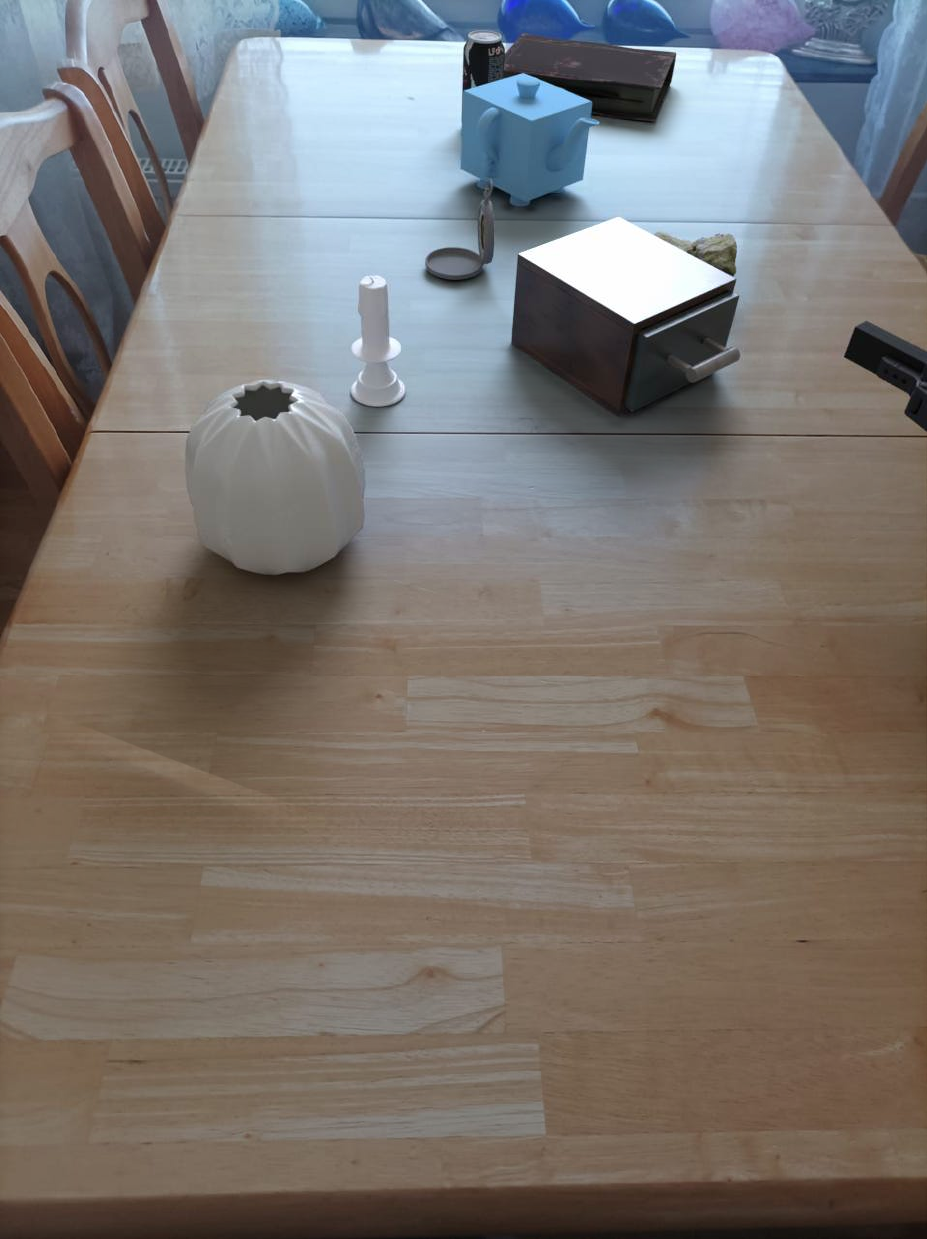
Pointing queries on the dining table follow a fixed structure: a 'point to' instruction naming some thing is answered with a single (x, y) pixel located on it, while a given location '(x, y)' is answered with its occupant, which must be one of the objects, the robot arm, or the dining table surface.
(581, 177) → the teapot
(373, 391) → the candle
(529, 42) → the diary
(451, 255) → the pocket watch
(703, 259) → the rock
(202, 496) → the vase
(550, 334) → the cabinet
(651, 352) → the drawer
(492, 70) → the beverage can
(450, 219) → the dining table surface
